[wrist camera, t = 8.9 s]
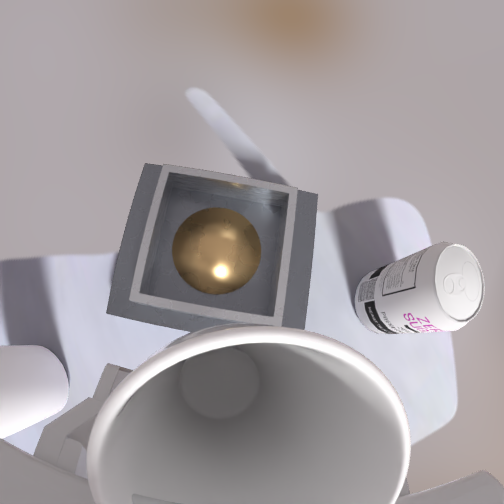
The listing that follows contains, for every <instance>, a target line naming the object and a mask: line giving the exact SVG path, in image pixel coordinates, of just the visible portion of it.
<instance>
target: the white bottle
mask: <svg viewBox="0 0 504 504" xmlns="http://www.w3.org/2000/svg"><path fill="white" fill-rule="evenodd" d="M68 395H69V383H68V378H67V375H66V371H65V369H64V367H63V365H62V364H61V362H60V361H59V359H58V358H57V357H56V356H55V355H54V353H52V352H51V351H50V350H48V349H47V348H45V347H43V346H39V345H10V346H0V438H1V439H3V438H5V437H7V436H9V435H11V434H14V433H16V432H18V431H20V430H22V429H24V428H27V427H29V426H31V425H33V424H35V423H37V422H39V421H41V420H43V419H45V418H47V417H50V416H52V415H54V414H56V413H58V412H59V411H60V410H62V409H63V407H64V406H65V405H66V402H67V400H68Z"/></svg>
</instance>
